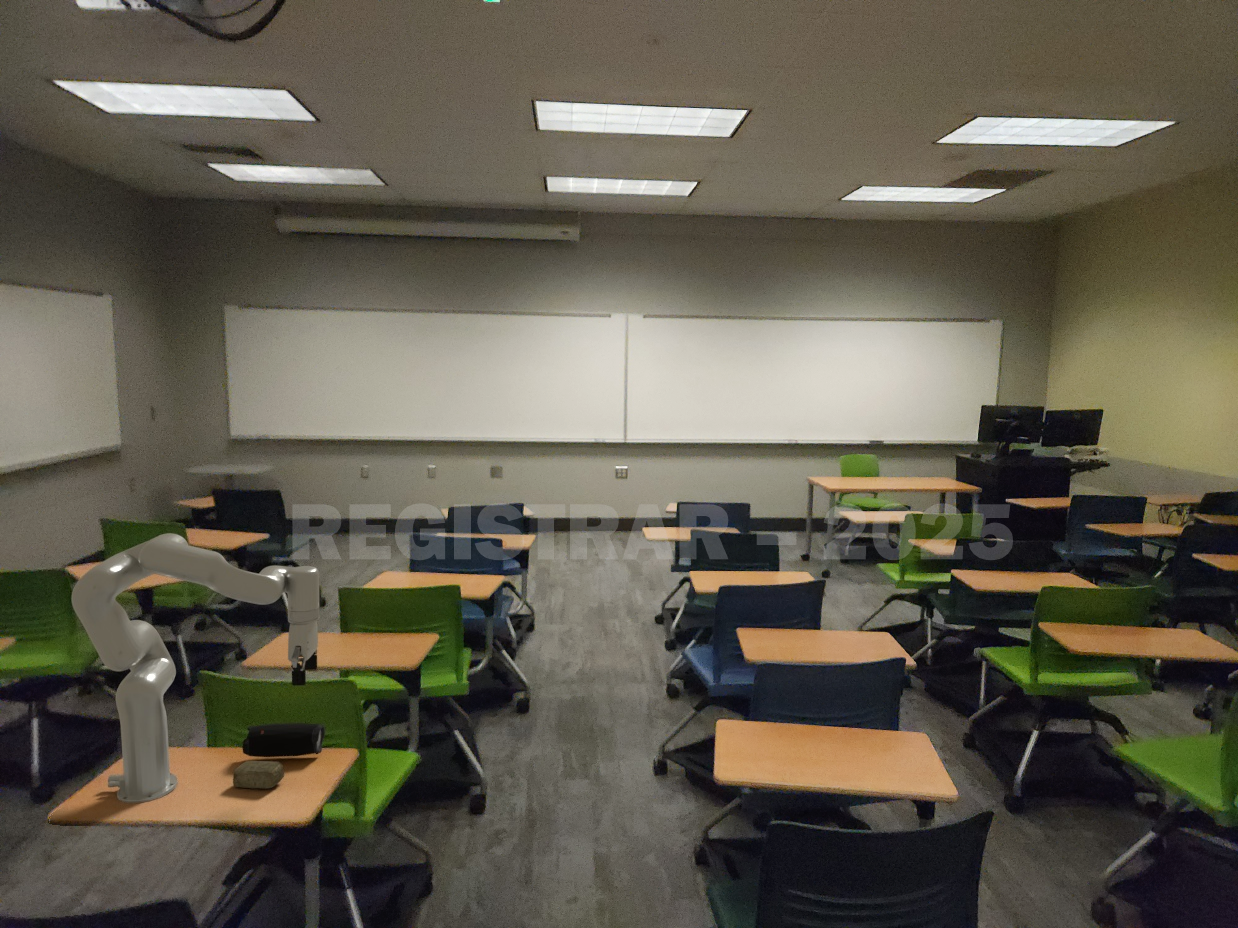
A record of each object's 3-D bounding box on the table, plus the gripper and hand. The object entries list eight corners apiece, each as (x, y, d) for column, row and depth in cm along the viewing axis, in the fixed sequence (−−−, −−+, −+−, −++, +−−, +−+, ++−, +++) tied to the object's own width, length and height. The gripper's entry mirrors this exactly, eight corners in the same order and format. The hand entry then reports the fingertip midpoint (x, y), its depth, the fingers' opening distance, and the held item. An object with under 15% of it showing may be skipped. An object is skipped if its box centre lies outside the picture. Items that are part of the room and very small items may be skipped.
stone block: (273, 790, 176) (270, 772, 175) (231, 789, 178) (229, 771, 177) (286, 777, 182) (284, 759, 181) (246, 776, 183) (243, 758, 183)
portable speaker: (239, 738, 187) (315, 736, 190) (252, 717, 196) (325, 715, 199) (242, 765, 189) (317, 762, 192) (255, 743, 198) (326, 740, 201)
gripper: (299, 603, 189) (300, 664, 191) (276, 625, 172) (278, 691, 174) (328, 603, 190) (329, 663, 192) (308, 625, 173) (309, 690, 175)
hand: (305, 676), depth 183 cm, fingers open, 9 cm apart
